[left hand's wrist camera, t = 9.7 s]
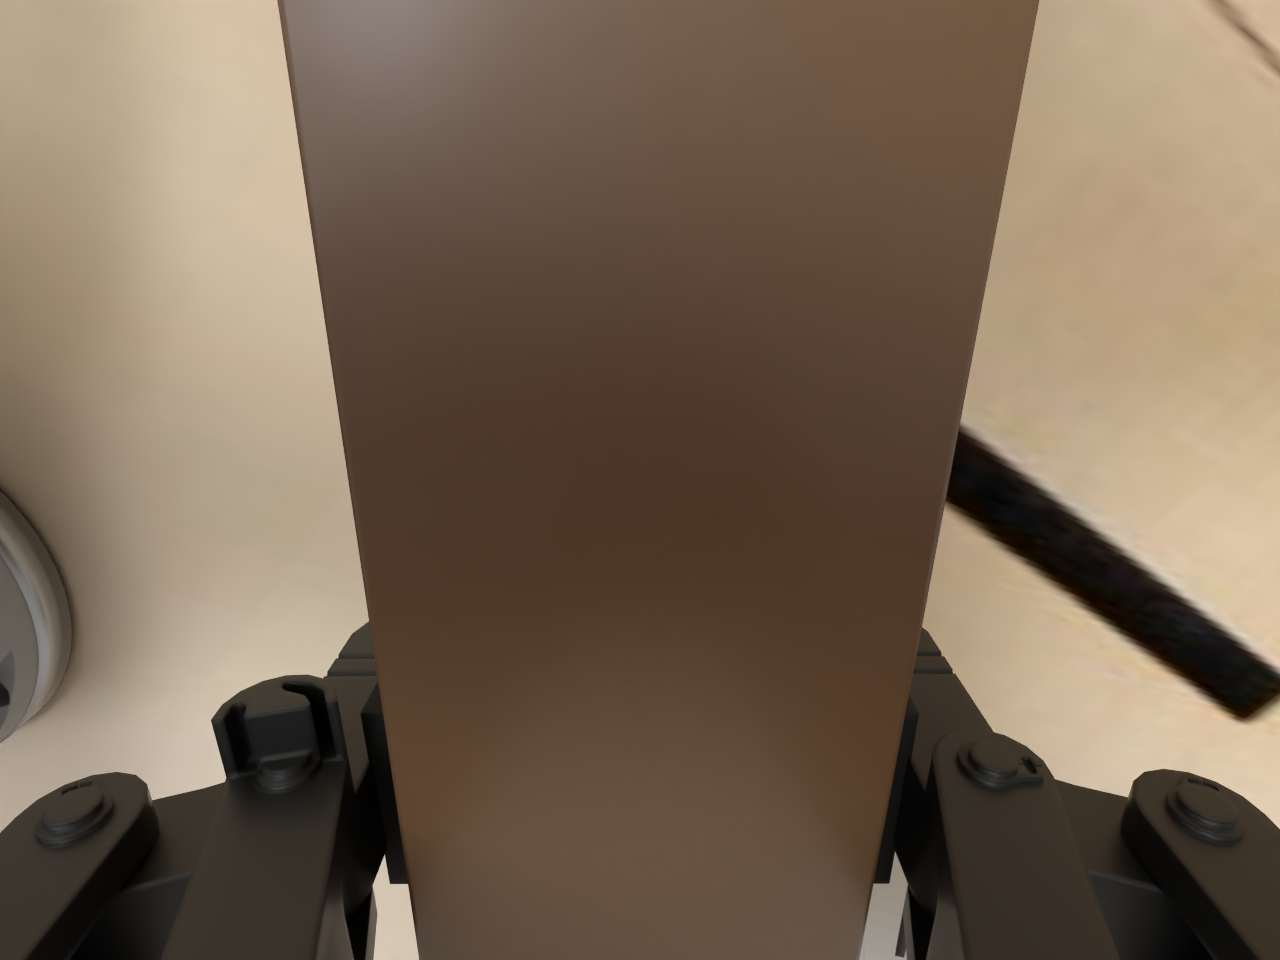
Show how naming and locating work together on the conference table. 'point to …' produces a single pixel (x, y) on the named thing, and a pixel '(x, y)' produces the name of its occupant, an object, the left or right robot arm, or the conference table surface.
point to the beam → (649, 437)
